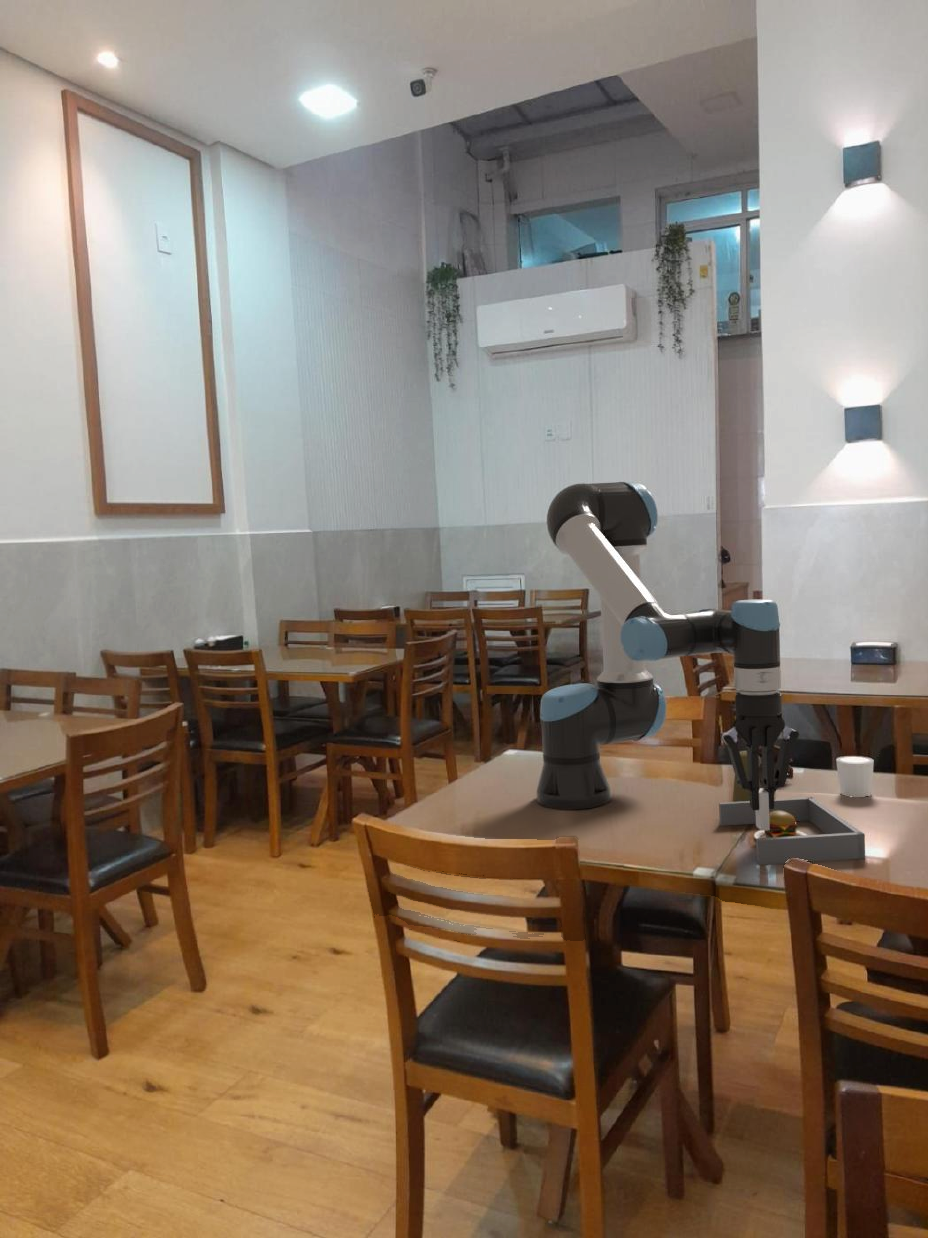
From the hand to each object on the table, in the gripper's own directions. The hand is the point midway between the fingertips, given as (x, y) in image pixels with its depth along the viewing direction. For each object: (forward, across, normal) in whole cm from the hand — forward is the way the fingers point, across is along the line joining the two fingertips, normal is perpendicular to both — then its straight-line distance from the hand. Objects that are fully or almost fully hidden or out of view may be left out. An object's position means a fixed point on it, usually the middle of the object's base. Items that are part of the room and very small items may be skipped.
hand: (762, 827), depth 158 cm
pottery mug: (+3, +15, +41) cm, 44 cm away
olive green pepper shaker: (+3, +4, +20) cm, 21 cm away
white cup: (+3, +27, +25) cm, 37 cm away
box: (+2, +4, 0) cm, 5 cm away
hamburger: (+3, +3, +1) cm, 5 cm away
